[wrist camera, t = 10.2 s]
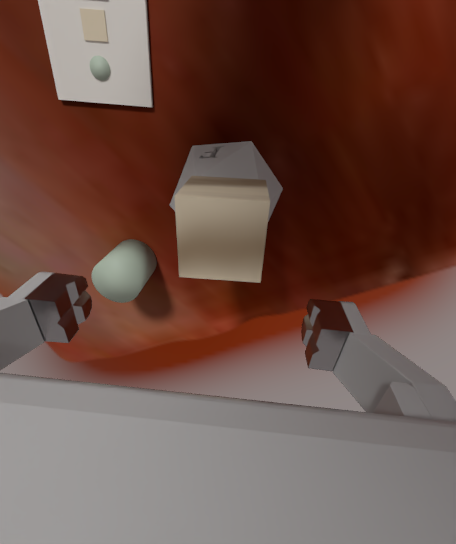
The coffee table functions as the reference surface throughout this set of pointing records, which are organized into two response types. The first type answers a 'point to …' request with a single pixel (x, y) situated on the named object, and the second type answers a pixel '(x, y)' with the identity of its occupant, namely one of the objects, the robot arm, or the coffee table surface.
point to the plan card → (99, 50)
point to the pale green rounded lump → (124, 271)
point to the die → (229, 166)
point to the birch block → (222, 228)
